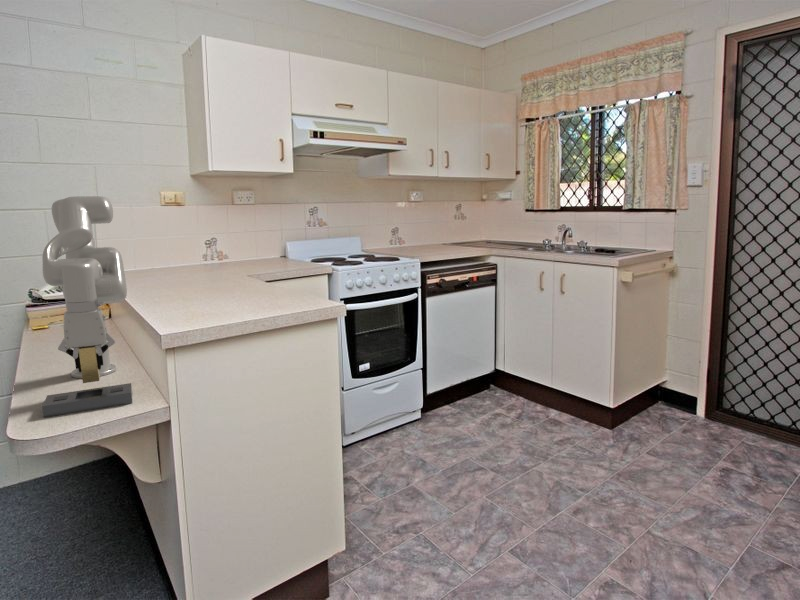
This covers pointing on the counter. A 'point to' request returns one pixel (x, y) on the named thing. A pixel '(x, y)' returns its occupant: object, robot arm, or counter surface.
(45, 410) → the grey peg hole board
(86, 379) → the brass peg
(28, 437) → the counter surface
